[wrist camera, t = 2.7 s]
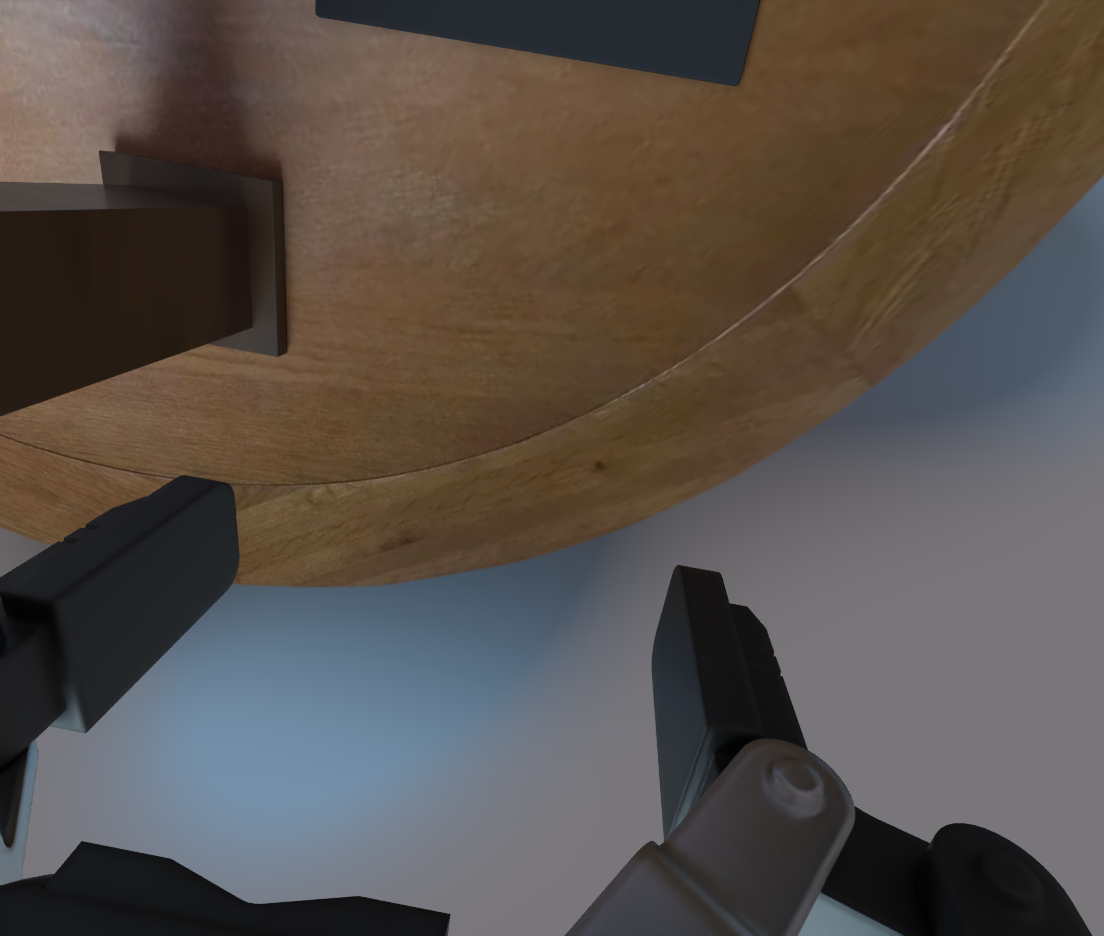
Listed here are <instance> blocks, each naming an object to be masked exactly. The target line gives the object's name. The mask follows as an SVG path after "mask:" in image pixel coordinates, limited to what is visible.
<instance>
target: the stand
mask: <svg viewBox="0 0 1104 936" xmlns="http://www.w3.org/2000/svg"><path fill="white" fill-rule="evenodd" d="M99 157H100V164H101V171H102V178H103V185H102V184H64V183H25V182H0V416H3V415H6V414H9V413H12V412H14V411H17V410H20V409H23V408H26V407H29V406H31V405H34V404H37V403H40V402H43V401H46V400H49V399H51V398H54V397H57V396H60V395H63V394H66V393H69V392H71V391H74V390H77V389H80V388H83V387H86V386H89V385H91V384H94V383H97V382H100V381H103V380H106V379H109V378H111V377H114V376H117V375H120V374H123V373H126V372H129V371H131V370H134V369H137V368H140V367H143V366H146V365H149V364H151V363H154V362H157V361H160V360H163V359H166V358H168V357H171V356H174V355H177V354H180V353H183V352H186V351H188V350H191V349H194V348H197V347H200V346H203V345H206V344H210V345H216V346H221V347H227V348H232V349H237V350H243V351H248V352H253V353H259V354H264V355H270V356H275V357H279V356H281V355H283V354H285V353H287V338H286V301H285V265H284V228H283V192H282V181H278V180H272V179H266V178H261V177H255V176H249V175H244V174H238V173H232V172H227V171H221V170H215V169H209V168H204V167H198V166H192V165H187V164H181V163H175V162H170V161H164V160H158V159H153V158H147V157H141V156H136V155H130V154H124V153H119V152H112V151H101V150H100V151H99Z"/></svg>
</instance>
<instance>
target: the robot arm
mask: <svg viewBox="0 0 1104 936" xmlns="http://www.w3.org/2000/svg"><path fill="white" fill-rule="evenodd" d="M238 566H239V545H238V532H237V520H236V508H235V497H234V492H233V489H232V487H231V486H230V485H229V484H228V483H225V482H220V481H215V480H209V479H203V478H198V477H192V476H187V475H182V476H179V477H177V478H175V479H174V480H172V481H171V482H169V483H167V484H166V485H164V486H163V487H161V488H160V489H158V490H156V491H155V492H153V493H152V494H150V495H149V496H147V497H143V498H140V499H137V500H134V501H132V502H129V503H126V504H123V505H120V506H117V507H114V508H112V509H110V510H109V511H107V512H105V513H104V514H102V515H101V516H99V517H97V518H96V519H94V520H92V521H91V522H89V523H88V524H86V527H85V528H79V529H78V530H76V531H75V532H73V533H71V534H70V535H68V536H67V537H65V538H64V541H63V542H59V541H58V542H57V543H55V544H54V545H52V546H50V547H49V548H47V549H46V550H44V551H42V552H41V553H39V554H37V555H36V556H35V557H33V558H31V559H29V560H28V561H26V562H24V563H23V564H21V565H20V566H18V567H16V568H15V569H13V570H12V571H10V572H8V573H7V574H5V575H3V576H2V577H0V936H448V929H449V921H450V914H447V913H442V912H436V911H432V910H426V909H422V908H416V907H411V906H406V905H401V904H396V903H391V902H386V901H380V900H376V899H371V898H366V897H361V896H353V897H341V898H328V899H316V900H304V901H292V902H279V903H267V904H253V903H248V902H245V901H243V900H241V899H239V898H237V897H236V896H234V895H232V894H231V893H229V892H227V891H226V890H224V889H222V888H220V887H219V886H217V885H215V884H214V883H212V882H210V881H208V880H207V879H205V878H203V877H202V876H200V875H198V874H196V873H195V872H193V871H191V870H189V869H188V868H186V867H184V866H183V865H181V864H179V863H177V862H176V861H174V860H172V859H169V858H164V857H159V856H154V855H149V854H144V853H139V852H134V851H129V850H123V849H119V848H114V847H108V846H103V845H99V844H94V843H88V842H84V841H82V842H81V843H80V844H79V845H78V846H77V848H76V849H75V850H74V851H73V852H72V854H71V855H70V856H69V857H68V858H67V860H66V861H65V862H64V863H63V864H62V866H61V867H60V868H59V869H58V870H57V872H56V873H55V874H49V875H43V876H38V877H32V878H27V879H23V865H24V856H25V850H26V842H27V834H28V828H29V821H30V814H31V806H32V799H33V792H34V784H35V778H36V770H37V763H38V748H37V745H36V742H35V739H36V738H37V737H38V736H39V735H40V734H41V733H42V732H43V731H44V730H45V729H47V728H48V726H51V727H57V728H62V729H67V730H72V731H77V732H82V733H86V732H88V731H89V730H90V729H91V728H92V727H93V726H94V725H95V724H96V723H97V721H98V720H99V719H101V717H102V716H103V715H104V714H105V713H106V712H107V711H108V710H109V709H110V708H111V707H112V706H113V705H114V704H115V703H116V702H117V701H118V700H119V699H120V698H121V697H122V696H123V695H124V694H125V693H126V692H127V691H128V690H129V689H130V688H131V687H132V686H133V685H134V684H135V683H136V682H137V681H138V680H139V679H140V678H141V677H142V676H143V675H144V674H145V673H146V672H147V671H148V670H149V669H150V668H151V667H152V666H153V665H154V664H155V663H156V662H157V661H158V660H159V659H160V658H161V657H162V656H163V655H164V654H165V653H166V652H167V651H168V650H169V649H170V648H171V647H172V646H173V645H174V644H175V643H176V642H177V641H178V640H179V639H180V638H181V637H182V636H183V635H184V633H186V631H188V630H189V629H190V628H191V627H192V625H194V623H195V622H196V621H197V620H198V619H199V618H200V617H201V616H202V615H203V614H204V613H205V612H206V611H207V610H208V609H209V608H210V607H211V606H212V605H213V604H214V603H215V602H216V601H217V600H218V599H219V598H220V597H221V596H222V595H223V594H224V593H225V592H226V591H227V590H228V589H229V587H230V586H231V584H232V582H233V581H234V578H235V576H236V573H237V570H238ZM780 673H781V671H780V667H779V665H778V662H777V659H776V657H775V656H774V650H773V647H772V644H771V641H770V638H769V635H768V633H767V630H766V628H765V627H764V626H763V624H762V623H761V622H760V621H759V620H758V619H757V617H756V616H755V615H754V614H753V613H752V612H751V611H750V609H749V608H748V607H747V606H741V605H736V604H730V603H729V600H728V596H727V593H726V589H725V586H724V582H723V578H722V576H721V574H720V573H719V572H714V571H709V570H703V569H697V568H692V567H687V566H681V565H677V566H676V567H675V569H674V571H673V574H672V578H671V581H670V585H669V588H668V592H667V596H666V599H665V603H664V606H663V610H662V613H661V617H660V621H659V624H658V628H657V632H656V635H655V640H654V646H653V653H652V681H653V695H654V709H655V722H656V736H657V749H658V764H659V777H660V791H661V805H662V818H663V832H664V842H663V844H661V845H660V846H659V845H657V844H656V843H655V842H654V841H650V842H648V843H647V844H645V845H644V846H643V847H642V848H641V849H640V850H639V851H638V852H637V853H636V854H635V855H634V856H633V857H632V858H631V859H630V861H629V862H628V863H627V864H626V865H625V867H624V868H623V869H622V870H621V871H620V872H619V874H618V875H617V876H616V877H615V878H614V879H613V881H611V883H610V884H609V885H608V886H607V887H606V888H605V890H604V891H603V892H602V893H601V894H600V895H599V897H598V898H597V899H596V900H595V901H594V902H593V903H592V905H591V906H590V907H589V908H588V909H587V911H586V912H585V913H584V914H583V915H582V916H581V918H580V919H579V920H578V921H577V922H576V923H575V924H574V925H573V927H572V928H571V929H570V930H569V931H568V932H567V934H566V935H565V936H1092V934H1091V933H1090V931H1089V930H1088V928H1087V926H1086V924H1085V923H1084V921H1083V919H1082V918H1081V916H1080V914H1079V913H1078V911H1077V909H1076V907H1075V906H1074V904H1073V902H1072V901H1071V899H1070V898H1069V896H1068V895H1067V893H1066V892H1065V890H1064V889H1063V888H1062V887H1061V885H1060V884H1059V883H1058V882H1057V880H1056V879H1055V878H1054V877H1053V876H1052V875H1051V874H1050V873H1049V872H1048V871H1047V870H1046V869H1045V868H1044V867H1043V866H1042V865H1041V864H1040V863H1039V862H1038V861H1037V860H1036V859H1034V858H1033V857H1032V856H1031V855H1029V854H1028V853H1027V852H1026V851H1024V850H1023V849H1022V848H1020V847H1019V846H1017V845H1016V844H1014V843H1013V842H1011V841H1010V840H1008V839H1006V838H1004V837H1002V836H1000V835H999V834H997V833H994V832H992V831H990V830H987V829H985V828H982V827H979V826H976V825H971V824H965V823H954V824H949V825H946V826H944V827H942V828H941V829H940V830H939V831H938V832H937V833H936V835H935V836H934V838H933V839H932V841H931V842H930V843H928V842H926V841H924V840H922V839H920V838H917V837H915V836H913V835H911V834H909V833H907V832H904V831H902V830H900V829H898V828H896V827H894V826H892V825H889V824H887V823H885V822H883V821H881V820H878V819H876V818H874V817H873V816H871V815H869V814H867V813H865V812H863V811H862V810H860V809H859V808H857V807H855V806H854V803H853V800H852V797H851V795H850V793H849V791H848V789H847V787H846V786H845V784H844V783H843V781H842V780H841V778H840V777H839V776H838V775H837V774H836V772H835V771H834V770H833V769H832V768H831V767H830V766H829V765H827V764H826V763H825V762H824V761H823V760H822V759H820V758H819V757H818V756H816V755H815V754H813V753H812V752H810V751H808V749H807V746H806V743H805V740H804V737H803V734H802V731H801V728H800V726H799V723H798V720H797V717H796V714H795V711H794V708H793V705H792V702H791V699H790V696H789V694H788V691H787V688H786V685H785V682H784V679H783V677H782V676H780Z"/></svg>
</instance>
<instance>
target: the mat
mask: <svg viewBox="0 0 1104 936" xmlns="http://www.w3.org/2000/svg"><path fill="white" fill-rule="evenodd" d="M759 1H760V0H316V15H317V16H319V17H322V18H328V19H334V20H340V21H346V22H352V23H358V24H364V25H370V26H377V27H383V28H389V29H395V30H401V31H407V32H413V33H419V34H425V35H431V36H437V37H443V38H449V39H455V40H461V41H467V42H473V43H479V44H485V45H491V46H497V47H503V48H509V49H515V50H521V51H527V52H533V53H539V54H545V55H551V56H557V57H563V58H569V59H575V60H581V61H587V62H593V63H599V64H605V65H611V66H617V67H623V68H629V69H635V70H641V71H647V72H653V73H659V74H665V75H671V76H677V77H683V78H689V79H695V80H701V81H707V82H713V83H719V84H725V85H731V86H738V85H739V83H740V79H741V75H742V71H743V67H744V63H745V59H746V54H747V50H748V46H749V42H750V38H751V34H752V30H753V26H754V22H755V18H756V14H757V10H758V6H759Z"/></svg>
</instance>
